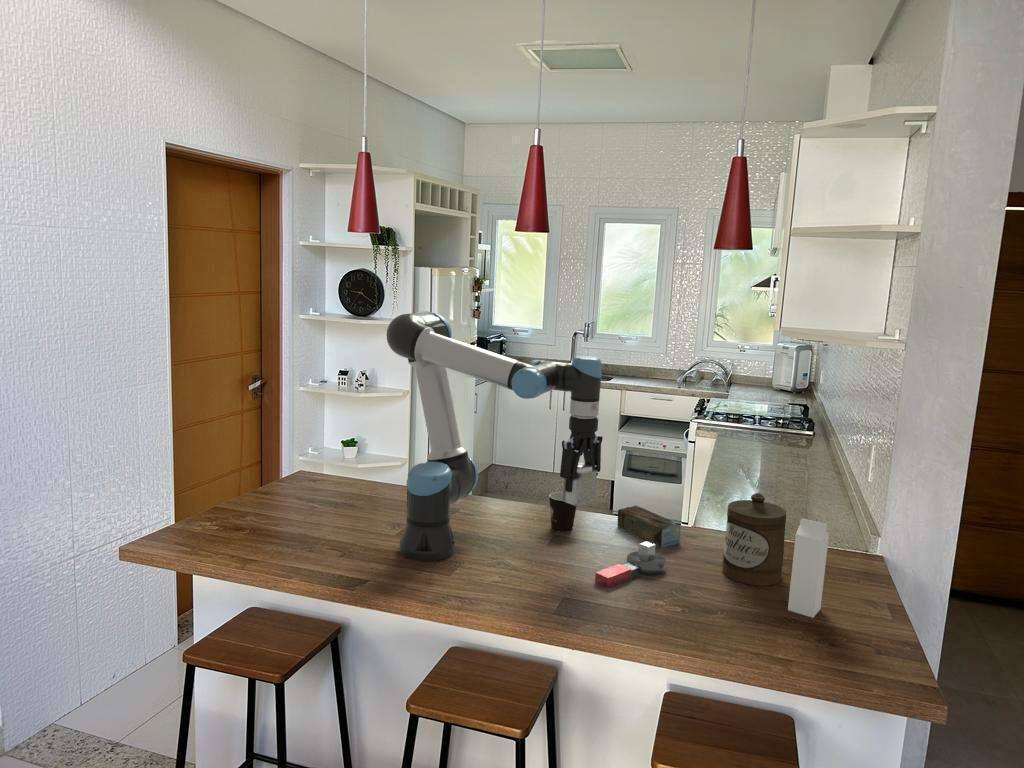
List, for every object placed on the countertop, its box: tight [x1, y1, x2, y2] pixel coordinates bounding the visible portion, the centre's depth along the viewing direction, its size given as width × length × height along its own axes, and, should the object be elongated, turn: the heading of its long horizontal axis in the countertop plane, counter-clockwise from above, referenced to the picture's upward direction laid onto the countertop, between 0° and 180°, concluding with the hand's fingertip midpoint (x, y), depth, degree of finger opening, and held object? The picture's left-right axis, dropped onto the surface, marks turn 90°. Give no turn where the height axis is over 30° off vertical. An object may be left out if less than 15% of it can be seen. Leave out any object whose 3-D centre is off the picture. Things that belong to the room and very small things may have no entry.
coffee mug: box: [548, 491, 578, 533], centre depth 229 cm, size 12×9×10 cm
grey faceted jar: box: [562, 462, 598, 508], centre depth 201 cm, size 6×6×10 cm
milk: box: [787, 518, 830, 618], centre depth 178 cm, size 6×6×22 cm
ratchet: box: [594, 540, 667, 589], centre depth 196 cm, size 23×10×6 cm, turn 133°
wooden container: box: [721, 492, 787, 587], centre depth 198 cm, size 15×15×22 cm
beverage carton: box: [617, 505, 682, 548], centre depth 225 cm, size 8×19×7 cm, turn 34°
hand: (578, 500), depth 202 cm, fingers closed on grey faceted jar, 6 cm apart
